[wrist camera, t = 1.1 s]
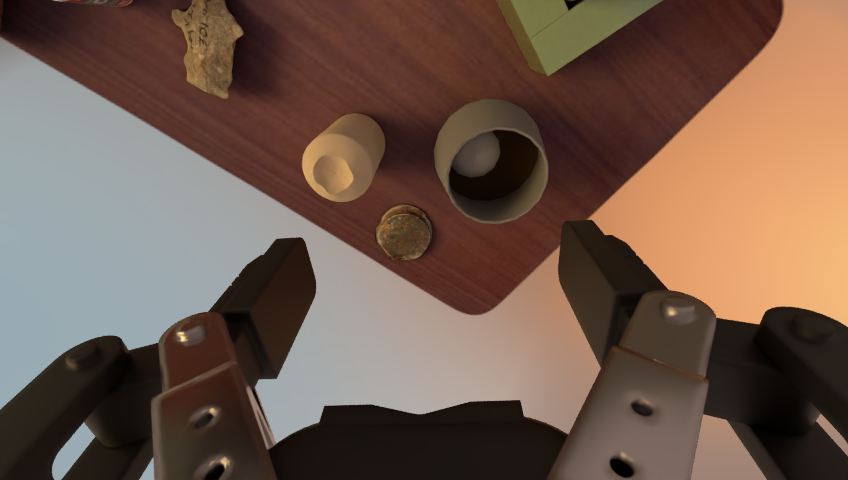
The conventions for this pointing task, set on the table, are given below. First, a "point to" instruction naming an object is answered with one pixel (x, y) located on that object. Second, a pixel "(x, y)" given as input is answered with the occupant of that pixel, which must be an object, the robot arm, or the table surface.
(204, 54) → the artifact
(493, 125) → the cup
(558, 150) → the table surface
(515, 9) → the stand
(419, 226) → the decorative disc
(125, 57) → the table surface
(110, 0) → the pill bottle
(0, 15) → the beverage can
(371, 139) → the candle
